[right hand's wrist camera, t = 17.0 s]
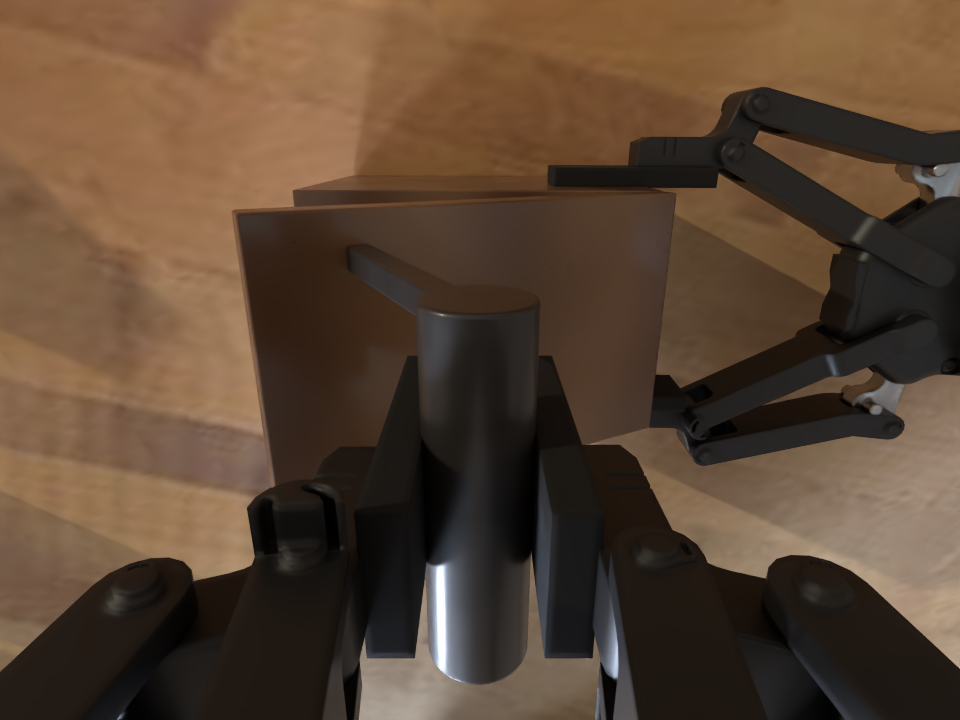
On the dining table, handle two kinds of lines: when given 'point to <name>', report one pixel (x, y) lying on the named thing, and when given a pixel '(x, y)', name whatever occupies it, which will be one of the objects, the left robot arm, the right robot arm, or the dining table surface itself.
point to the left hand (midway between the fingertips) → (546, 291)
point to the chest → (436, 189)
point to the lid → (457, 364)
